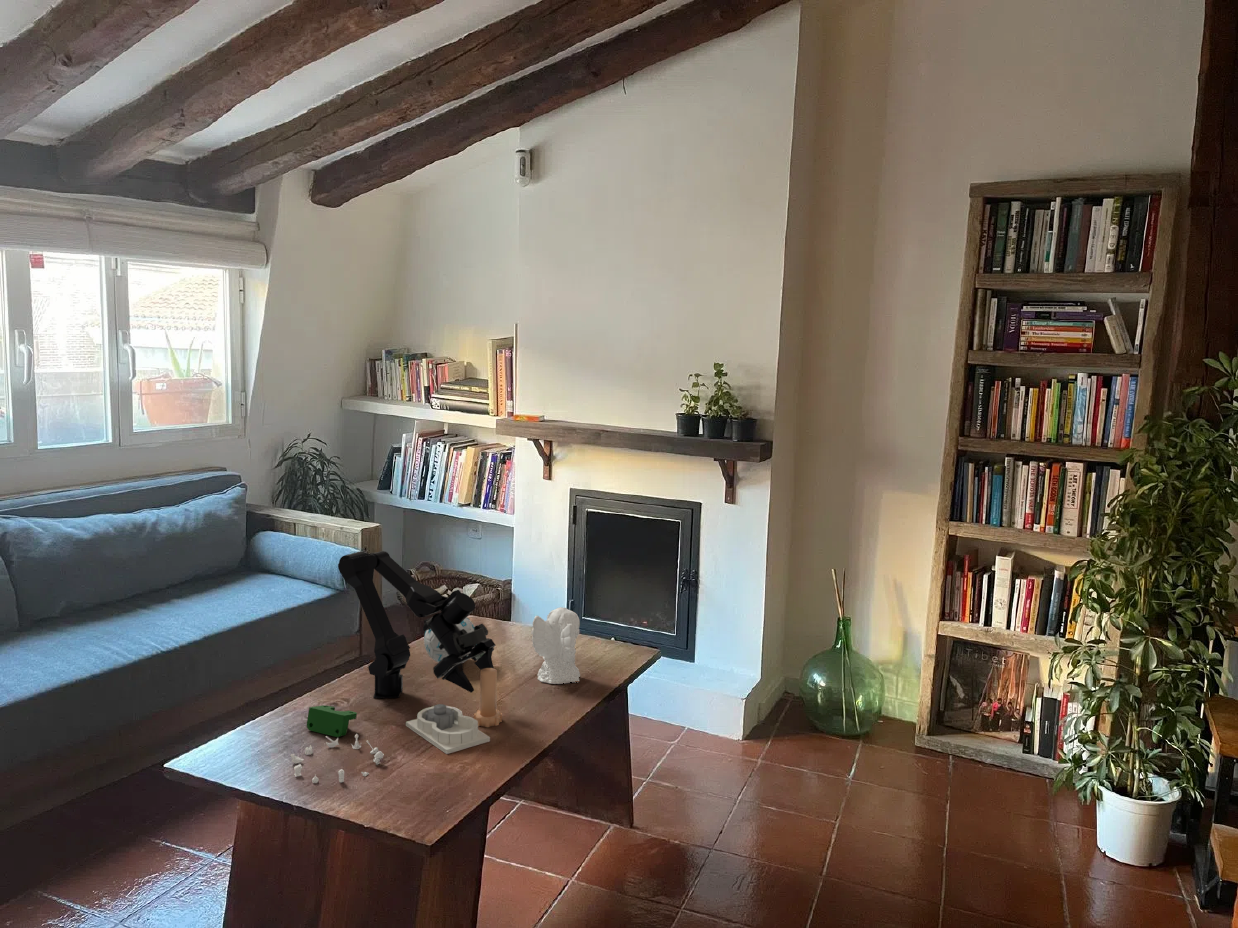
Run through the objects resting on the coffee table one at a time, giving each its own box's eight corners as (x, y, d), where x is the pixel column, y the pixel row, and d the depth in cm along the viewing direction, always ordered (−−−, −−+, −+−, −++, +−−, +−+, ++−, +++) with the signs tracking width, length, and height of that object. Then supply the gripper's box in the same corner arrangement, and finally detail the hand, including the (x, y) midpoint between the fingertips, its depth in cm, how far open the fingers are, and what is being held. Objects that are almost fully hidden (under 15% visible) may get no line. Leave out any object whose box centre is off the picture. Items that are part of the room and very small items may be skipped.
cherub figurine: (591, 676, 264) (594, 607, 262) (572, 691, 253) (574, 619, 250) (549, 668, 269) (551, 600, 267) (529, 683, 258) (530, 612, 255)
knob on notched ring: (473, 727, 228) (474, 675, 226) (474, 715, 235) (475, 665, 233) (501, 726, 229) (502, 675, 227) (501, 715, 236) (502, 665, 234)
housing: (405, 725, 228) (405, 703, 227) (447, 714, 235) (448, 693, 234) (446, 754, 213) (446, 730, 212) (489, 741, 221) (490, 718, 220)
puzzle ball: (451, 651, 281) (451, 603, 279) (488, 663, 272) (488, 613, 270) (412, 665, 268) (412, 614, 266) (449, 677, 260) (450, 625, 258)
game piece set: (397, 751, 214) (397, 735, 214) (354, 792, 195) (354, 774, 194) (320, 740, 219) (320, 725, 218) (270, 779, 199) (270, 762, 199)
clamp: (347, 746, 224) (363, 716, 224) (332, 750, 219) (348, 719, 219) (316, 720, 229) (332, 690, 228) (300, 722, 224) (317, 692, 223)
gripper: (443, 625, 223) (480, 679, 220) (489, 607, 240) (525, 656, 236) (417, 651, 228) (453, 704, 224) (464, 631, 244) (499, 680, 241)
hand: (484, 685), depth 231 cm, fingers open, 9 cm apart
